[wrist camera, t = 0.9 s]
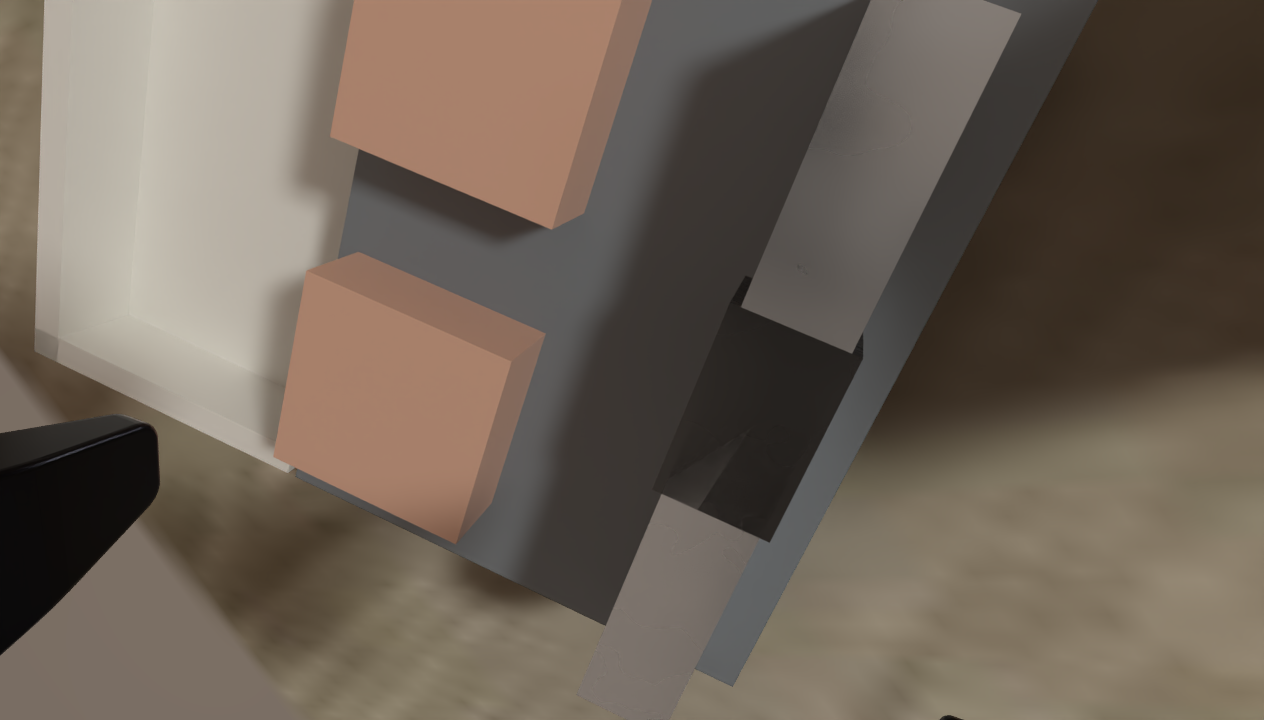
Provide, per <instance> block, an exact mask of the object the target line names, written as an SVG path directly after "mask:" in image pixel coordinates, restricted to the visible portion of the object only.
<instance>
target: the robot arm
mask: <svg viewBox="0 0 1264 720" xmlns="http://www.w3.org/2000/svg"><path fill="white" fill-rule="evenodd" d="M159 486H160V471H159V450H158V435H157V432H156V430H155V429H154V427H153V426H151V425H150V424H148V423H146V422H143V421H141V420H138V419H135V418H132V417H130V416H127V415H122V414H112V415H106V416H100V417H94V418H88V419H83V420H77V421H71V422H65V423H59V424H53V425H47V426H41V427H35V428H30V429H24V430H17V431H11V432H5V433H0V655H1V654H3V653H4V652H5V651H6V650H7V649H8V648H9V647H10V646H12V645H13V644H14V643H15V642H16V641H17V640H18V639H19V638H21V637H22V636H23V635H24V634H25V633H26V632H27V631H28V630H30V629H31V628H32V627H33V626H34V625H35V624H36V623H37V622H38V621H39V620H40V619H42V618H43V617H44V616H45V615H46V614H47V613H48V612H49V611H50V610H51V609H52V608H53V607H54V606H55V605H56V604H57V603H58V602H59V601H60V600H61V599H62V598H63V597H64V596H65V595H66V594H67V593H68V592H69V591H70V590H71V589H72V588H73V587H74V585H76V584H77V583H78V582H79V580H80V579H81V578H82V577H83V576H84V575H85V574H86V573H87V572H88V571H89V570H90V569H91V568H92V567H93V565H94V564H95V563H96V562H97V561H98V560H99V559H100V558H101V557H102V556H103V555H104V554H105V553H106V552H107V551H108V549H109V548H110V547H111V546H112V545H113V544H114V543H115V542H116V541H117V540H118V539H119V538H120V537H121V536H122V535H123V534H124V533H125V531H126V530H127V529H128V528H129V527H130V526H131V525H132V524H133V523H134V522H135V521H136V520H137V519H138V518H139V517H140V515H141V514H142V513H143V512H144V511H145V510H146V509H147V508H148V507H149V506H150V505H151V503H152V502H153V500H154V499H155V497H156V495H157V493H158V490H159ZM940 720H963V719H960V718H957V717H954V716H951V715H947V716H943V717H942V718H941V719H940Z"/></svg>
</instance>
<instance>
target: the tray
mask: <svg viewBox="0 0 1264 720" xmlns="http://www.w3.org/2000/svg"><path fill="white" fill-rule="evenodd" d="M353 3H354V0H45V3H44V38H43V72H42V106H41V140H40V175H39V209H38V243H37V278H36V312H35V346H34V351H35V352H37V353H39V354H41V355H43V356H45V357H47V358H49V359H51V360H53V361H56V362H58V363H60V364H62V365H64V366H66V367H68V368H70V369H72V370H74V371H76V372H78V373H81V374H83V375H85V376H87V377H89V378H91V379H93V380H95V381H97V382H99V383H101V384H103V385H105V386H108V387H110V388H112V389H114V390H116V391H118V392H120V393H122V394H124V395H126V396H128V397H130V398H133V399H135V400H137V401H139V402H141V403H143V404H145V405H147V406H149V407H151V408H153V409H155V410H158V411H160V412H162V413H164V414H166V415H168V416H170V417H172V418H174V419H176V420H178V421H180V422H182V423H185V424H187V425H189V426H191V427H193V428H195V429H197V430H199V431H201V432H203V433H205V434H207V435H210V436H212V437H214V438H216V439H218V440H220V441H222V442H224V443H226V444H228V445H230V446H232V447H235V448H237V449H239V450H241V451H243V452H245V453H247V454H249V455H251V456H253V457H255V458H257V459H259V460H262V461H264V462H266V463H268V464H270V465H272V466H274V467H276V468H278V469H280V470H282V471H284V472H287V473H289V472H290V471H291V470H293V469H294V468H295V467H293V466H291V465H289V464H287V463H285V462H283V461H281V460H279V459H276V458H274V457H273V455H274V450H275V444H276V438H277V433H278V427H279V422H280V416H281V410H282V405H283V399H284V393H285V388H286V382H287V376H288V371H289V365H290V359H291V354H292V348H293V342H294V337H295V331H296V325H297V320H298V314H299V309H300V303H301V297H302V292H303V286H304V280H305V275H306V270H309V269H312V268H314V267H317V266H320V265H323V264H326V263H328V262H331V261H334V260H337V259H338V254H339V249H340V244H341V239H342V234H343V228H344V223H345V218H346V213H347V208H348V203H349V197H350V192H351V187H352V182H353V177H354V171H355V166H356V161H357V156H358V151H359V149H358V148H356V147H354V146H351V145H349V144H346V143H344V142H342V141H339V140H337V139H334V138H332V137H330V133H331V128H332V122H333V116H334V111H335V105H336V99H337V94H338V88H339V83H340V77H341V71H342V66H343V60H344V54H345V49H346V43H347V37H348V32H349V26H350V20H351V15H352V9H353Z"/></svg>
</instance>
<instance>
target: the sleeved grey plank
mask: <svg viewBox="0 0 1264 720" xmlns="http://www.w3.org/2000/svg"><path fill="white" fill-rule="evenodd" d="M1020 16H1021V13H1018V12H1015V11H1012V10H1009V9H1007V8H1004V7H1001V6H998V5H995V4H992V3H990V2H987V1H984V0H871V1H870V3H869V6H868V8H867V11H866V13H865V15H864V18H863V20H862V22H861V25H860V27H859V29H858V32H857V34H856V37H855V39H854V41H853V44H852V46H851V48H850V51H849V53H848V55H847V58H846V60H845V62H844V65H843V67H842V70H841V72H840V74H839V77H838V79H837V81H836V84H835V86H834V88H833V91H832V93H831V95H830V98H829V100H828V103H827V105H826V107H825V110H824V112H823V114H822V117H821V119H820V121H819V124H818V126H817V129H816V131H815V133H814V136H813V138H812V140H811V143H810V145H809V147H808V150H807V152H806V154H805V157H804V159H803V162H802V164H801V166H800V169H799V171H798V173H797V176H796V178H795V180H794V183H793V185H792V188H791V190H790V192H789V195H788V197H787V199H786V202H785V204H784V206H783V209H782V211H781V213H780V216H779V218H778V221H777V223H776V225H775V228H774V230H773V232H772V235H771V237H770V239H769V242H768V244H767V246H766V249H765V251H764V254H763V256H762V258H761V261H760V263H759V265H758V268H757V270H756V272H755V275H754V277H753V278H751V277H748V276H745V277H744V279H743V281H742V282H741V284H740V286H739V288H738V289H737V291H736V293H735V295H734V296H733V298H732V300H731V301H730V304H729V306H728V308H727V311H726V313H725V316H724V318H723V320H722V323H721V325H720V328H719V330H718V332H717V335H716V337H715V340H714V342H713V344H712V347H711V349H710V352H709V354H708V356H707V359H706V361H705V364H704V366H703V368H702V371H701V373H700V376H699V378H698V380H697V383H696V385H695V388H694V390H693V392H692V395H691V397H690V400H689V402H688V404H687V407H686V409H685V412H684V414H683V416H682V419H681V421H680V424H679V426H678V428H677V431H676V433H675V436H674V438H673V440H672V443H671V445H670V448H669V450H668V452H667V455H666V457H665V460H664V462H663V464H662V467H661V469H660V472H659V474H658V476H657V479H656V481H655V484H654V486H653V488H652V490H654V491H657V492H659V493H661V497H660V499H659V501H658V504H657V506H656V508H655V511H654V513H653V515H652V518H651V520H650V523H649V525H648V527H647V530H646V532H645V534H644V537H643V539H642V541H641V544H640V546H639V548H638V551H637V553H636V556H635V558H634V560H633V563H632V565H631V567H630V570H629V572H628V574H627V577H626V579H625V582H624V584H623V586H622V589H621V591H620V593H619V596H618V598H617V600H616V603H615V605H614V607H613V610H612V612H611V615H610V617H609V619H608V622H607V624H606V626H605V629H604V631H603V633H602V636H601V638H600V640H599V643H598V645H597V648H596V650H595V652H594V655H593V657H592V659H591V662H590V664H589V666H588V669H587V671H586V674H585V676H584V678H583V681H582V683H581V685H580V688H579V690H578V692H577V695H578V696H580V697H582V698H584V699H586V700H588V701H590V702H592V703H594V704H596V705H598V706H600V707H602V708H604V709H606V710H608V711H610V712H612V713H614V714H616V715H618V716H620V717H622V718H624V719H626V720H669V719H670V717H671V715H672V713H673V711H674V709H675V707H676V705H677V703H678V701H679V699H680V697H681V695H682V693H683V691H684V689H685V687H686V685H687V683H688V681H689V679H690V677H691V675H692V673H693V671H694V669H695V667H696V665H697V663H698V661H699V659H700V657H701V655H702V653H703V651H704V649H705V647H706V645H707V643H708V641H709V639H710V637H711V635H712V633H713V631H714V629H715V627H716V625H717V623H718V621H719V619H720V617H721V615H722V613H723V611H724V609H725V607H726V605H727V603H728V601H729V599H730V597H731V595H732V593H733V591H734V589H735V587H736V585H737V583H738V581H739V579H740V577H741V575H742V573H743V571H744V569H745V567H746V565H747V563H748V561H749V559H750V557H751V555H752V553H753V551H754V549H755V547H756V545H757V543H758V541H759V539H762V540H764V541H767V542H769V543H770V541H771V539H772V537H773V535H774V534H775V532H776V530H777V528H778V526H779V524H780V522H781V520H782V518H783V516H784V514H785V512H786V510H787V508H788V506H789V504H790V502H791V500H792V498H793V496H794V494H795V492H796V490H797V488H798V486H799V484H800V482H801V480H802V478H803V476H804V474H805V472H806V470H807V468H808V466H809V464H810V462H811V461H812V459H813V457H814V455H815V453H816V451H817V449H818V447H819V445H820V443H821V441H822V439H823V437H824V435H825V433H826V431H827V429H828V427H829V425H830V423H831V421H832V419H833V417H834V415H835V413H836V411H837V409H838V407H839V405H840V403H841V401H842V399H843V397H844V395H845V393H846V391H847V390H848V388H849V386H850V384H851V382H852V380H853V378H854V376H855V374H856V372H857V370H858V368H859V366H860V364H861V362H862V360H863V330H864V328H865V326H866V324H867V322H868V320H869V318H870V316H871V314H872V312H873V310H874V308H875V306H876V304H877V302H878V300H879V298H880V296H881V294H882V292H883V290H884V288H885V286H886V284H887V282H888V280H889V278H890V276H891V274H892V272H893V270H894V268H895V266H896V264H897V262H898V260H899V258H900V256H901V254H902V252H903V250H904V248H905V246H906V244H907V242H908V240H909V238H910V236H911V234H912V232H913V230H914V228H915V226H916V224H917V222H918V220H919V218H920V216H921V214H922V212H923V210H924V208H925V206H926V204H927V202H928V200H929V198H930V196H931V194H932V192H933V190H934V188H935V186H936V184H937V182H938V180H939V178H940V176H941V174H942V172H943V170H944V168H945V166H946V164H947V162H948V160H949V158H950V156H951V154H952V152H953V150H954V148H955V146H956V144H957V142H958V140H959V138H960V136H961V134H962V132H963V130H964V128H965V126H966V124H967V122H968V120H969V118H970V116H971V114H972V112H973V110H974V108H975V106H976V104H977V102H978V100H979V98H980V96H981V94H982V92H983V90H984V88H985V86H986V84H987V82H988V80H989V78H990V76H991V74H992V72H993V70H994V68H995V66H996V64H997V62H998V60H999V58H1000V56H1001V54H1002V52H1003V50H1004V48H1005V46H1006V44H1007V42H1008V40H1009V38H1010V36H1011V34H1012V32H1013V30H1014V28H1015V26H1016V24H1017V22H1018V20H1019V18H1020Z"/></svg>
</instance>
